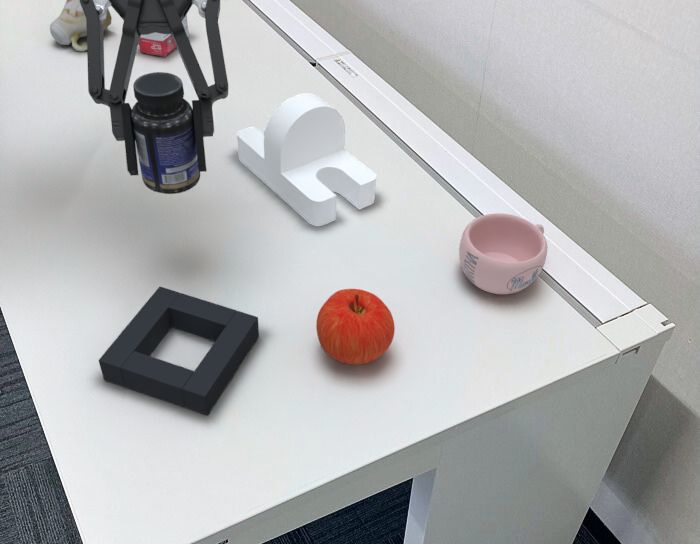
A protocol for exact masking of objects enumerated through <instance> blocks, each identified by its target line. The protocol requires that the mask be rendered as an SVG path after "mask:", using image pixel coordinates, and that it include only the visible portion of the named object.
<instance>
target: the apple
mask: <svg viewBox="0 0 700 544" xmlns="http://www.w3.org/2000/svg"><path fill="white" fill-rule="evenodd" d="M315 327H316V334H317V339H318V341H319V345H320V346H321V348H322V350H323V351H324V352H325V353H326V354H327V355H328V356H329V357H330V358H332V359H333V360H335V361H338V362H340V363H342V364H346V365H356V366H357V365H365V364H368V363H372V362H374V361H376V360H378V359H379V358H380V357H381V356H382V355H383V354H385V352H386V351H387V350H388V349H389V347H390V346H391V344H392V342H393V340H394V337H395V331H396V330H395V329H396V328H395V320H394V317H393V314H392V312H391V310H390V309H389V307H388V306H387V304H385V303H384V301H382V299H381V298H379V296H377V295H376V294H374V293H372V292H371V291H367V290H363V289H360V288H343V289H339V290H337V291H335V292H334V293H332V294H331V295H330V296H329V298H327V300H326V301H325V302H324V303H323V304H322V306H321V307H320V309H319V311H318V313H317V317H316V326H315Z"/></svg>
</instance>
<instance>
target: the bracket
mask: <svg viewBox="0 0 700 544" xmlns="http://www.w3.org/2000/svg"><path fill="white" fill-rule="evenodd" d="M236 139H237V154H238V160H239V162H240V163H241V164H242V165H244V166H245V167H246V168H247V169H248V170H249V171H250V172H251V173H252V174H254V175H255V176H256V177H257V178H258V179H259V180H260V181H261V182H262V183H264V185H266V186H267V187H268V188H269V189H270V190H272V191H273V192H274V193H275V194H276V195H277V196H278V197H279V198H280V199H281V200H283V201H284V202H285V203H286V204H287V205H288V206H289V207H290V208H292V209H293V210H294V211H295V212H296V213H297V214H298V215H300V217H302V218H303V219H304V220H305V221H306V222H307V223H308V224H309V225H311V226H314V227H322V226H326V225H327V224H331V223H333V222H335V221H336V220H337V198H338V197H337V194H339V195H340V196H341V197H343V198H344V199H345V200H347V201H348V203H350V204H351V205H353V207H355V208H356V209H357V210H359V211H360V210H362V209H364V208H367V207H370V206H372V205H373V204H374V203H375V197H376V185H377V174H376V173H375V172H374V170H372V169H370V168H369V167H368V166H367V165H366V164H364V163H363V162H362V161H360V160H359V159H358V158H357V157H355V156H354V155H352V154H351V152H349V151H347V150H346V148H345V147H346V146H345V145H346V123H345V120H344V118H343V115H341V113H340V112H339V111H338V110H337V108H334V107H333V106H332V105H330V104H329V103H328V102H326V101H325V100H324V99H322V98H321V97H319V96H318V95H315V93H309V92H303V93H298V94H295V95H293V96H290V97H289V98H287V99H285V101H283V102H282V103H281V104H279V105H278V106H277V108H276V109H275V110H274V111H273V112H272V114H271V116H270V118H269V120H268V122H267V123H266V126H265V130H264V133H263V132H262V131H261V130H259V129H258V128H257V127H256V126H255V125H251V126H249V127H245V128H243V129H240V130H238V131H237V133H236Z"/></svg>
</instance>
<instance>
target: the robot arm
mask: <svg viewBox="0 0 700 544" xmlns="http://www.w3.org/2000/svg"><path fill="white" fill-rule="evenodd" d="M80 4H81V6H82V9H83V11H84V14H85V16H86V23H87V36H86V45H87V50H86V53H87V55H86V57H87V84H88V85H87V89H88V91H87V92H88V94H89V96H90V97H91V99H92V101H93V102H94V103H95V104H97V105H104V106H107V107H108V108H109V112H110V113H109V114H110V125H111V133H112V136H113V137H114V139H115V141H117V142H123V141H124V148H125V150H124V151H125V159H126V169H127V172H128V174H129V176H131V177H133V176H140V175H139V165H138V153H137V147H136V141H135V136H134V130H133V125H132V120H131V111H132V106H131V104H130V103H129V102H126V100H127V95H128V91H129V85H130V81H131V78H132V74H133V73H132V72H133V68H134V63H135V59H136V54H137V50H138V47H139V41H140V37H141V35H148V34H151V33H154V32H156V33H161V34H171V36H172V38H173V41H174V43H175V44H176V49H177V51H178V54H179V56H180V59H181V61H182V63H183V65H184V69H185V71H186V73H187V75H188V78H189V80H190V82H191V85H192V87H193V89H194V91H195V94H196V96H197V99H194V100H193V99H192V100H191V107H192V109H193V118H194V128H195V139H196V149H197V160H198V168H199V172H200V173H201V172H202V173H205V172H207V161H206V150H205V140H204V138H207V137H214V134H215V123H214V114H213V113H214V112H213V105H214V104H215V102H217V101H219V100H225V99H226V98H228V96H229V80H228V75H227V69H226V64H225V56H224V49H223V45H222V38H221V32H220V26H219V18H220V12H221V0H80ZM193 5H195V6H196V7H197V9H198V10H197V11H198V15H199V16H200V17H201V18H203V19H204V21H205V22H204V23H205V32H206V37H207V45H208V50H209V56H210V62H211V68H212V74H213V81H214V84H210V85H209V84H208V82H207V80H206V78H205V75H204V73H203V70H202V68H201V66H200V63H199V61H198V58H197V57H196V54H195V51H194V48H193V46H192V44H191V42H190V39H189V37H187V34H186V32H185V29H184V26H183V24H182V21H183V19H184V17H185V16H186V14H188V13H189V12H190V9H191V8H192V6H193ZM109 7H112V9H113V10H114V11H115V12H116V13H117V14H118V16H119V17H120V18H121V19H122V20H123V23H122V27H121V28H122V30H121V33H122V34H121V37H120V42H119V47H118V50H117V55H116V60H115V64H114V68H113V72H112V77H111V81H110V87H109V89H107V88H106V83H105V82H106V77H105V76H106V75H105V74H106V73H105V45H104V44H105V43H104V42H105V41H104V31H103V26H102V22H101V21H102V20H104V19H105V18H106V17H107V8H108V9H109Z"/></svg>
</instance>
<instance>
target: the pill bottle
mask: <svg viewBox="0 0 700 544" xmlns="http://www.w3.org/2000/svg"><path fill="white" fill-rule="evenodd" d="M133 95H134V98H135V99H136V102H135V103H134V105H133V106H132V107H131V109H132V111H131V120H132V125H133V130H134V136H135V144H136V154H137V159H138V163H139V169H140V174H141V179H142V182H143V184H144V186H145V187H146V188H148V189H149V190H150V191H153V192H156V193H159V194H164V195H174V194H181V193H185V192H187V191H189V190H191V189H193V188H194V187H196V186H197V184H198V183H199V181H200V179H201V172H199V168H198V160H197V149H196V139H195V128H194V118H193V107H192V104H190V102H189V101H187V99H185V98H184V96H185V89H184V84H183V81H182V79H181V78H180V76H178V75H176V74H173V73H171V72H165V71H155V72H150V73H146V74H143V75H141V76H139V77H137V78H136V79H135V80H134V81H133Z"/></svg>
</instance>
